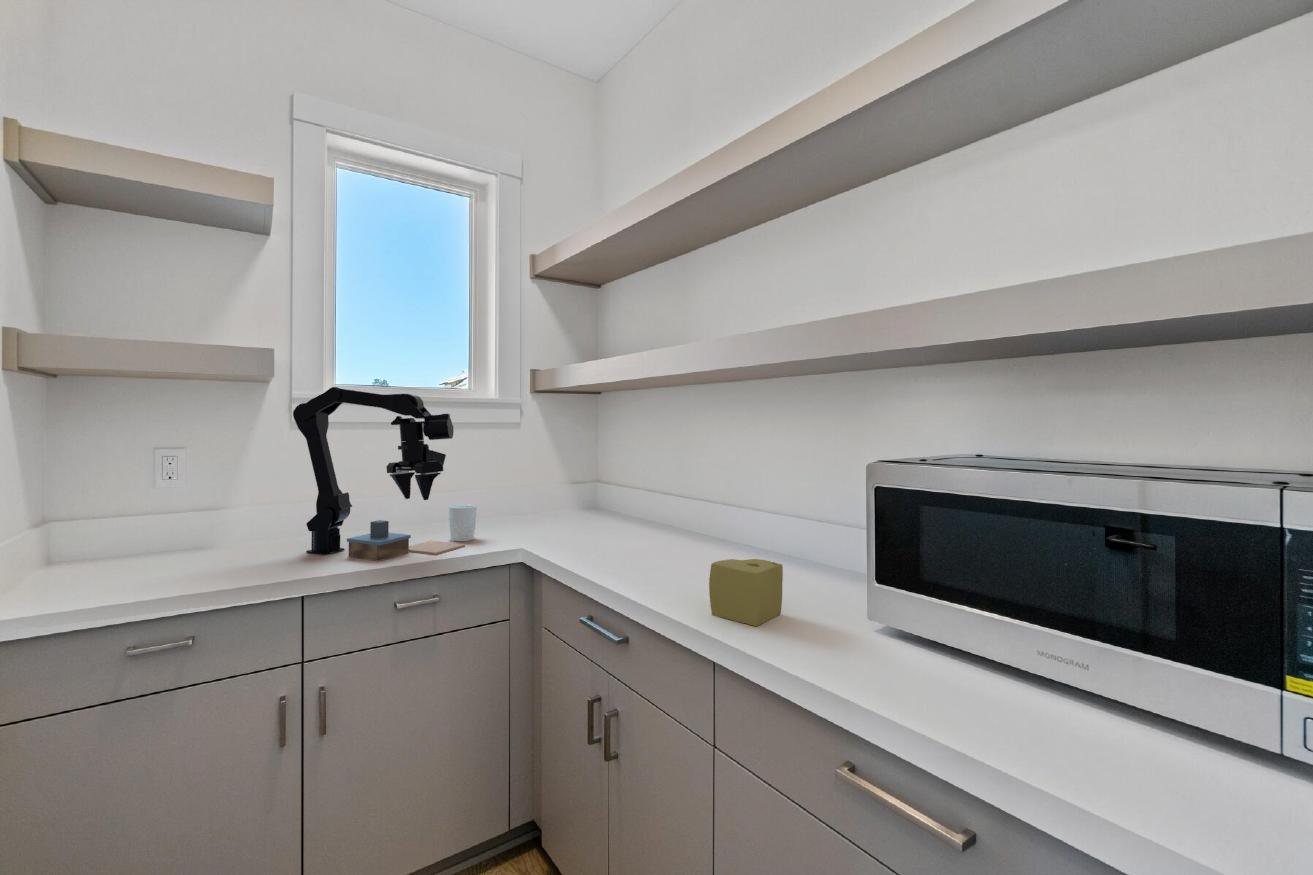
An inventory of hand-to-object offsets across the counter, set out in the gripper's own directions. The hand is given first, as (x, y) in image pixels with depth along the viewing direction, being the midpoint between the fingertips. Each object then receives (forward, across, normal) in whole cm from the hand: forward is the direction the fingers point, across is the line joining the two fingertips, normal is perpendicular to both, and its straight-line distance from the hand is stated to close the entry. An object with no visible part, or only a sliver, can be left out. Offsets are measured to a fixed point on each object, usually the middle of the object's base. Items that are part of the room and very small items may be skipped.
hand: (416, 499), depth 155 cm
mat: (+14, +2, -5) cm, 15 cm away
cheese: (+21, -91, -13) cm, 94 cm away
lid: (+10, +4, +9) cm, 14 cm away
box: (+13, +4, +9) cm, 17 cm away
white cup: (+15, +7, -18) cm, 24 cm away
